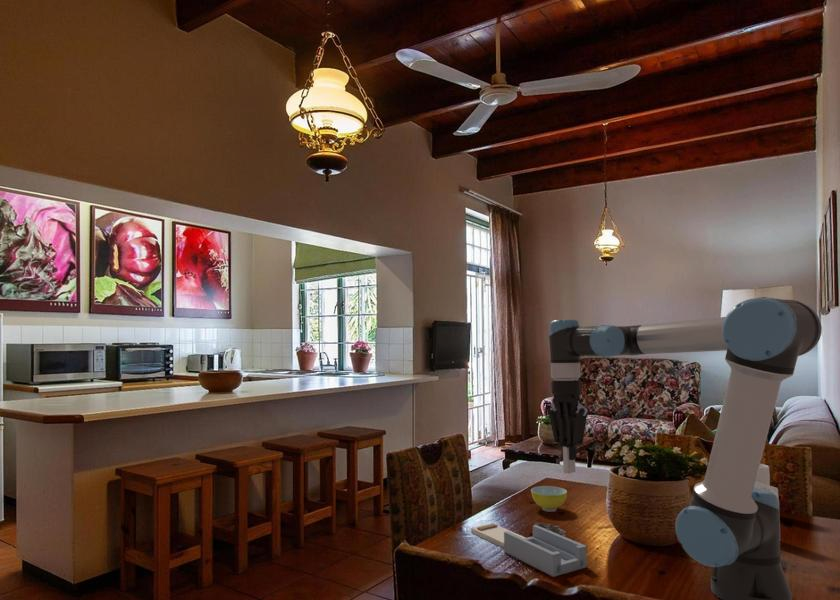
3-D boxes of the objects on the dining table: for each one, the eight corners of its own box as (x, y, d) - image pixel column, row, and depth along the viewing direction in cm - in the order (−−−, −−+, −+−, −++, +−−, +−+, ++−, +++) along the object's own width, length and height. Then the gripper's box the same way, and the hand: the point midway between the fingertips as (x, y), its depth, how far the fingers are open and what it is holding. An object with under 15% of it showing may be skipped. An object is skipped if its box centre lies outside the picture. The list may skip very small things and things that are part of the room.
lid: (530, 546, 154) (530, 537, 154) (508, 552, 149) (508, 543, 150) (492, 529, 167) (492, 521, 167) (471, 534, 163) (471, 526, 163)
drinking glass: (741, 511, 182) (739, 464, 183) (755, 509, 185) (753, 462, 186) (761, 518, 176) (760, 468, 177) (776, 515, 178) (774, 466, 179)
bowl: (524, 506, 188) (524, 487, 188) (555, 503, 191) (555, 484, 192) (542, 516, 177) (541, 496, 177) (574, 513, 180) (574, 493, 181)
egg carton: (568, 549, 151) (567, 533, 151) (539, 548, 152) (539, 532, 152) (560, 534, 162) (560, 520, 162) (533, 534, 162) (533, 519, 162)
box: (586, 567, 139) (586, 545, 139) (553, 576, 133) (552, 554, 133) (536, 543, 154) (536, 524, 154) (504, 551, 148) (504, 532, 149)
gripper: (595, 379, 145) (599, 474, 143) (557, 377, 156) (560, 466, 154) (575, 380, 141) (579, 479, 139) (537, 379, 151) (540, 469, 149)
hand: (569, 472), depth 146 cm, fingers closed
